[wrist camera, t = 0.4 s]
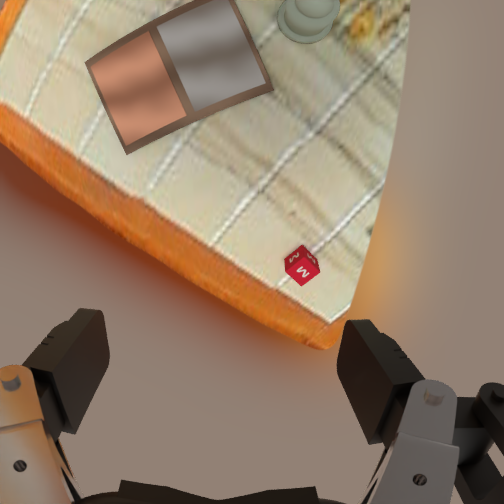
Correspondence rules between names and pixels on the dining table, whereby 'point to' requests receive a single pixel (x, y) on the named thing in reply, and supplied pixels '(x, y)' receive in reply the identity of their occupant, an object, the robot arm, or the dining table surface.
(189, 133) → the dining table surface
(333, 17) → the pawn
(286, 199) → the dining table surface
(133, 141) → the brown flat rectangular board
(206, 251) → the dining table surface
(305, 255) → the dice
